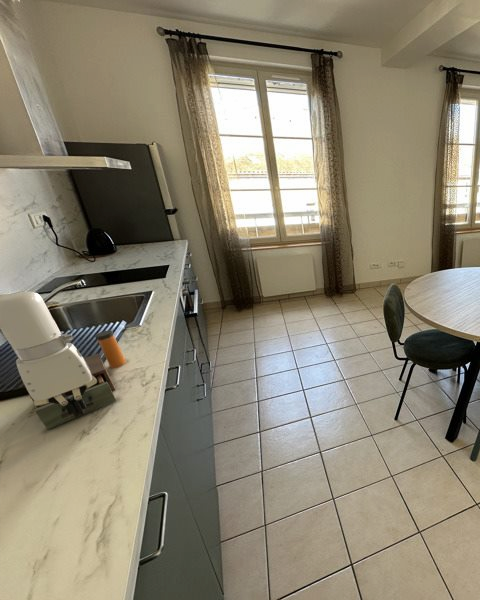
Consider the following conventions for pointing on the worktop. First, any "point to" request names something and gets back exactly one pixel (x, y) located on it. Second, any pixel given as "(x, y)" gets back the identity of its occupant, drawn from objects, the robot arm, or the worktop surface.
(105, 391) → the drawer
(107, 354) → the spice jar
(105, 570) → the worktop surface
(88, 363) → the cabinet
